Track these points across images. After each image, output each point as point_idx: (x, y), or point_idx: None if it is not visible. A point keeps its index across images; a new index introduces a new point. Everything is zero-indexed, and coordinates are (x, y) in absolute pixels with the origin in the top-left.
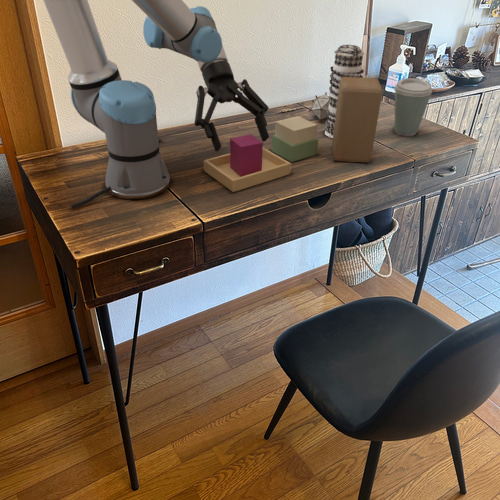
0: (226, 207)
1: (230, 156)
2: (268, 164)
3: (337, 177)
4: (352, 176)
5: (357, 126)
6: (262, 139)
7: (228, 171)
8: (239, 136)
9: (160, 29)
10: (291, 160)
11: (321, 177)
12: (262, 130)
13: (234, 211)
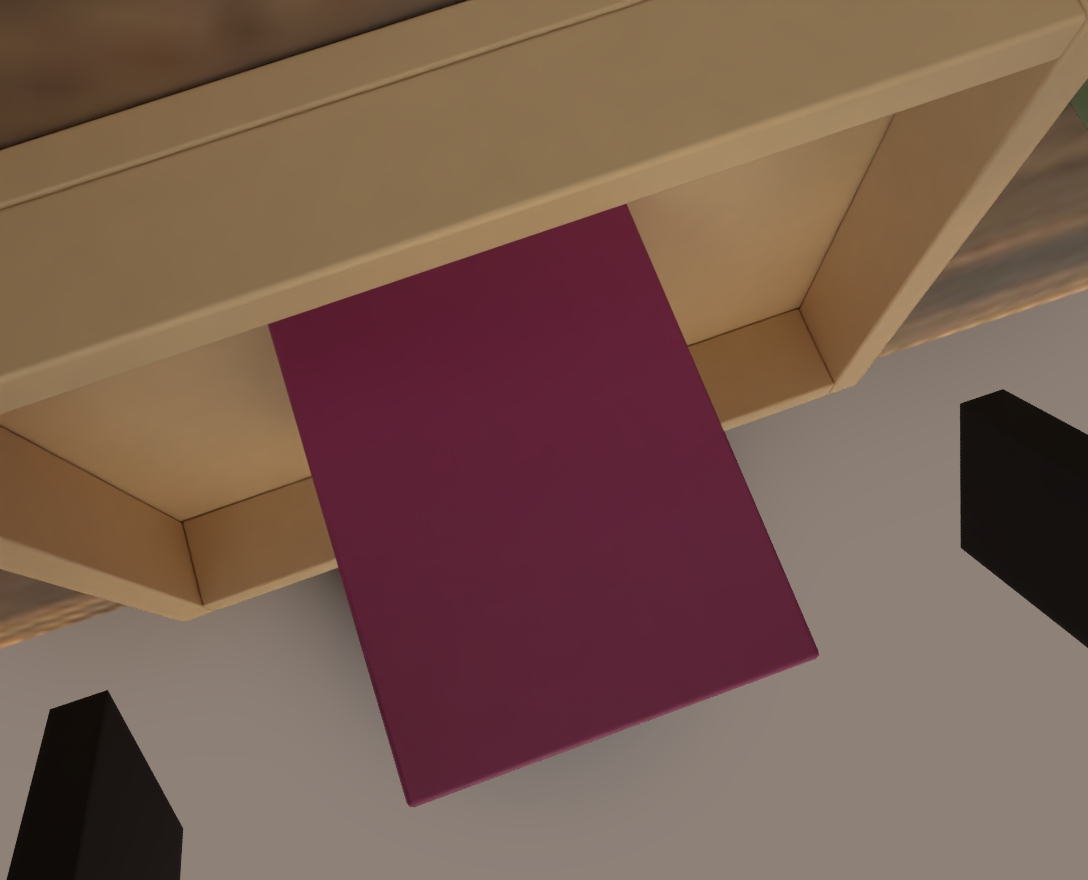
0: (57, 604)
1: (313, 475)
2: (780, 216)
3: (999, 301)
4: (1072, 289)
5: None
6: (979, 435)
7: (196, 353)
8: (598, 737)
9: None
10: (1080, 117)
11: (928, 306)
12: (1065, 579)
13: (113, 608)
